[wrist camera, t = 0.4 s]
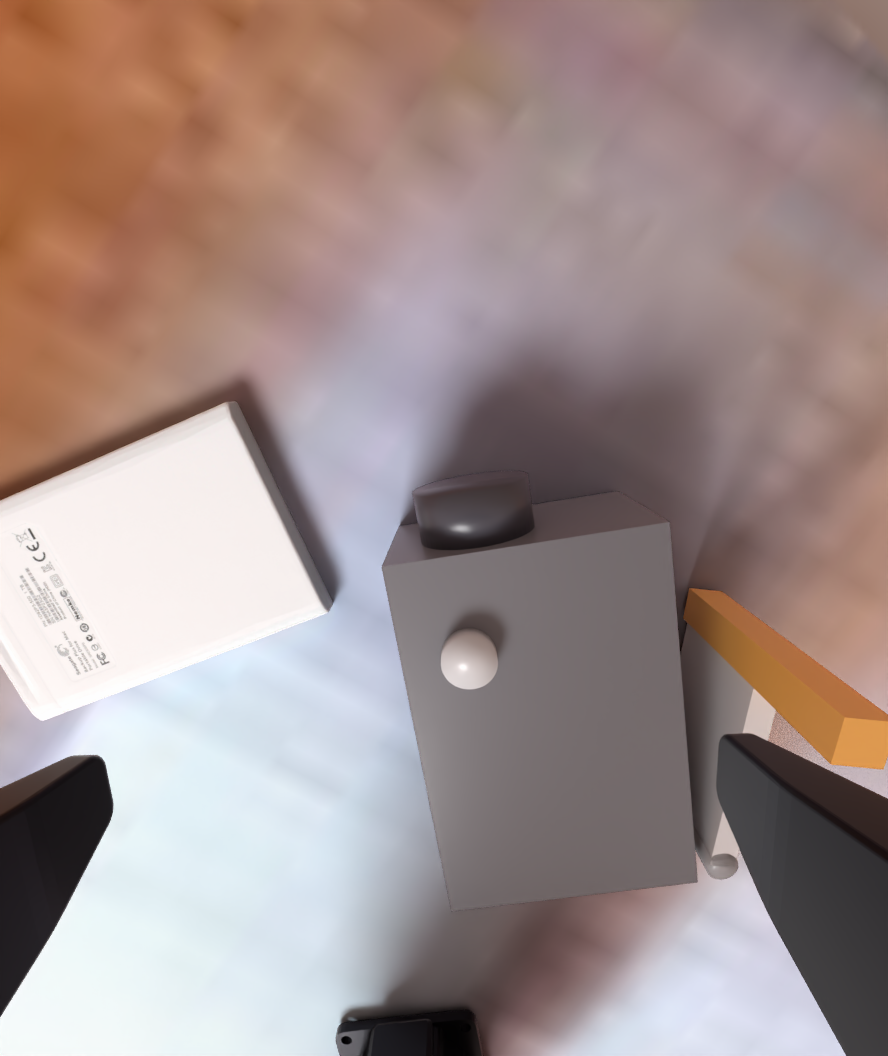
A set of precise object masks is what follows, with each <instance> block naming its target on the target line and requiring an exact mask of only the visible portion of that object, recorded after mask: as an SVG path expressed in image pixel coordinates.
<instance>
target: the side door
mask: <svg viewBox="0 0 888 1056" xmlns="http://www.w3.org/2000/svg"><path fill="white" fill-rule="evenodd" d="M683 619H684V620H685V621H686V622H687V628H686V632H685V637H684V642H683V646H682V651H681V656H680V661H681V674H682V687H683V700H684V712H685V725H686V738H687V751H688V764H689V777H690V790H691V803H692V816H693V829H694V842H695V850H696V852H697V854H698V856H699V857H700V859H701V861H702V863H703V865H704V867H705V869H706V871H707V873H708V874H709V875H710V876H711V877H713V878H715V879H727V878H729V877H731V876H733V875H734V874H735V873H736V871H737V869H738V862H737V857H738V853H739V847H738V844H737V842H736V840H735V837H734V835H733V833H732V831H731V828H730V826H729V824H728V821H727V819H726V817H725V814H724V812H723V810H722V808H721V805H720V803H719V800H718V796H717V790H716V777H717V762H718V746H719V741H720V738H721V737H722V736H723V735H724V734H738V733H751V734H754V735H757V736H759V737H761V738H763V739H765V740H767V741H768V738H769V735H770V731H771V727H772V723H773V719H774V716H775V712H776V711H777V712H778V713H779V714H780V715H781V716H782V717H783V718H784V719H785V720H786V721H787V722H788V723H789V724H790V725H791V726H792V727H793V728H794V729H796V730H797V731H798V732H799V733H800V734H801V735H802V736H803V737H804V738H805V739H806V740H807V741H808V742H809V743H810V744H811V745H812V746H813V747H814V748H815V749H816V750H817V751H818V752H819V753H820V754H821V755H822V756H823V757H824V758H825V759H826V760H827V761H828V762H829V763H830V764H832V765H842V766H852V767H863V768H873V769H884V766H885V763H886V760H887V757H888V714H886V713H885V712H884V711H882V710H881V709H879V708H878V707H877V706H875V705H874V704H873V703H871V702H870V701H869V700H867V699H866V698H865V697H863V696H862V695H861V694H859V693H858V692H857V691H855V690H854V689H853V688H851V687H850V686H849V685H847V684H846V683H844V682H843V681H842V680H840V679H839V678H838V677H836V676H835V675H834V674H832V673H831V672H830V671H828V670H827V669H826V668H824V667H823V666H822V665H820V664H819V663H818V662H816V661H815V660H814V659H812V658H811V657H809V656H808V655H807V654H805V653H804V652H803V651H801V650H800V649H799V648H797V647H796V646H795V645H793V644H792V643H791V642H789V641H788V640H787V639H785V638H784V637H783V636H781V635H780V634H779V633H777V632H776V631H774V630H773V629H772V628H770V627H769V626H768V625H766V624H765V623H764V622H762V621H761V620H760V619H758V618H757V617H756V616H754V615H753V614H752V613H750V612H749V611H748V610H746V609H745V608H744V607H742V606H741V605H739V604H738V603H737V602H735V601H734V600H733V599H731V598H730V597H729V596H727V595H726V594H725V593H723V592H722V591H714V590H703V589H693V588H689V592H688V597H687V602H686V607H685V611H684V616H683Z"/></svg>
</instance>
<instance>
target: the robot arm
mask: <svg viewBox="0 0 888 1056" xmlns="http://www.w3.org/2000/svg"><path fill="white" fill-rule="evenodd" d="M716 790H717V796H718V800H719V803H720V805H721V808H722V810H723V812H724V814H725V817H726V819H727V821H728V824H729V826H730V828H731V831H732V833H733V835H734V837H735V840H736V842H737V844H738V847H739V849H740V851H741V854H742V856H743V858H744V860H745V863H746V865H747V867H748V870H749V872H750V874H751V877H752V879H753V881H754V883H755V886H756V888H757V890H758V893H759V895H760V897H761V899H762V901H763V904H764V906H765V908H766V910H767V912H768V914H769V916H770V918H771V920H772V922H773V924H774V925H775V927H776V929H777V931H778V933H779V935H780V937H781V938H782V940H783V942H784V944H785V946H786V948H787V949H788V951H789V953H790V955H791V957H792V958H793V960H794V962H795V964H796V966H797V967H798V969H799V971H800V973H801V975H802V976H803V978H804V980H805V982H806V984H807V986H808V987H809V989H810V991H811V993H812V995H813V996H814V998H815V1000H816V1002H817V1004H818V1005H819V1007H820V1009H821V1011H822V1013H823V1014H824V1016H825V1018H826V1020H827V1022H828V1024H829V1025H830V1027H831V1029H832V1031H833V1033H834V1034H835V1036H836V1038H837V1040H838V1042H839V1043H840V1045H841V1047H842V1049H843V1051H844V1052H845V1054H846V1056H888V799H887V798H885V797H883V796H881V795H879V794H877V793H875V792H873V791H871V790H869V789H867V788H864V787H862V786H860V785H858V784H856V783H854V782H852V781H850V780H848V779H846V778H844V777H842V776H840V775H838V774H835V773H833V772H831V771H829V770H827V769H825V768H823V767H821V766H819V765H817V764H815V763H813V762H811V761H808V760H806V759H804V758H802V757H800V756H798V755H796V754H794V753H792V752H790V751H788V750H786V749H784V748H782V747H779V746H777V745H775V744H773V743H771V742H769V741H767V740H765V739H763V738H761V737H759V736H757V735H754V734H751V733H738V734H724V735H723V736H722V737H721V738H720V741H719V746H718V762H717V777H716ZM112 813H113V799H112V794H111V789H110V784H109V779H108V774H107V769H106V765H105V762H104V760H103V759H102V758H101V757H100V756H98V755H78V756H70V757H67V758H65V759H63V760H61V761H58V762H56V763H54V764H52V765H50V766H48V767H45V768H43V769H41V770H39V771H37V772H35V773H32V774H30V775H28V776H26V777H24V778H22V779H20V780H17V781H15V782H13V783H11V784H9V785H7V786H4V787H2V788H0V1017H1V1015H2V1014H3V1012H4V1010H5V1009H6V1007H7V1006H8V1004H9V1002H10V1001H11V999H12V998H13V996H14V994H15V993H16V991H17V990H18V988H19V986H20V985H21V983H22V982H23V980H24V978H25V977H26V975H27V973H28V972H29V970H30V969H31V967H32V965H33V964H34V962H35V961H36V959H37V957H38V956H39V954H40V953H41V951H42V949H43V948H44V946H45V944H46V943H47V941H48V939H49V938H50V936H51V934H52V932H53V931H54V929H55V927H56V925H57V923H58V922H59V920H60V918H61V916H62V914H63V912H64V911H65V909H66V907H67V905H68V903H69V901H70V899H71V897H72V895H73V893H74V891H75V889H76V887H77V885H78V883H79V881H80V879H81V877H82V875H83V874H84V872H85V870H86V868H87V866H88V864H89V862H90V860H91V858H92V856H93V854H94V852H95V850H96V848H97V846H98V844H99V842H100V840H101V838H102V836H103V835H104V833H105V831H106V829H107V827H108V825H109V823H110V820H111V817H112ZM336 1044H337V1048H338V1051H339V1055H340V1056H484V1055H483V1050H482V1045H481V1040H480V1035H479V1030H478V1025H477V1020H476V1016H475V1014H474V1013H473V1012H472V1011H469V1010H457V1011H448V1012H439V1013H429V1014H420V1015H411V1016H402V1017H392V1018H383V1019H374V1020H365V1021H355V1022H346V1023H342V1024H341V1025H339V1027H338V1029H337V1034H336Z"/></svg>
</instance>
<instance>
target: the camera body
mask: <svg viewBox="0 0 888 1056" xmlns="http://www.w3.org/2000/svg"><path fill="white" fill-rule="evenodd" d="M412 494H413V500H414V505H415V511H416V516H417V522H418V523H414V524H408V525H402V526H399V527H398V530H397V532H396V534H395V537H394V539H393V541H392V544H391V546H390V548H389V551H388V553H387V555H386V558H385V560H384V563H383V565H382V571H383V576H384V581H385V586H386V591H387V596H388V601H389V606H390V611H391V616H392V621H393V626H394V630H395V635H396V640H397V645H398V650H399V655H400V660H401V665H402V670H403V675H404V680H405V685H406V690H407V695H408V700H409V705H410V710H411V715H412V720H413V724H414V729H415V734H416V739H417V744H418V749H419V754H420V759H421V764H422V769H423V774H424V779H425V784H426V789H427V794H428V799H429V804H430V809H431V813H432V818H433V823H434V828H435V833H436V838H437V843H438V848H439V853H440V858H441V863H442V868H443V873H444V878H445V883H446V888H447V893H448V898H449V903H450V907H451V912H452V911H460V910H468V909H477V908H485V907H494V906H502V905H511V904H519V903H528V902H536V901H544V900H553V899H561V898H570V897H578V896H587V895H595V894H603V893H612V892H620V891H629V890H637V889H646V888H654V887H662V886H671V885H679V884H688V883H696V882H698V880H697V868H696V855H695V842H694V829H693V816H692V803H691V790H690V777H689V764H688V751H687V738H686V725H685V712H684V700H683V687H682V674H681V661H680V648H679V635H678V622H677V609H676V596H675V583H674V570H673V557H672V544H671V531H670V522H669V521H667V520H666V519H664V518H662V517H661V516H659V515H657V514H656V513H654V512H652V511H651V510H649V509H647V508H646V507H644V506H642V505H641V504H639V503H637V502H636V501H634V500H632V499H631V498H629V497H627V496H626V495H624V494H622V493H621V492H619V491H615V492H609V493H602V494H596V495H590V496H583V497H577V498H571V499H565V500H558V501H552V502H546V503H540V504H533V505H532V500H531V493H530V485H529V478H528V473H526V472H523V471H493V472H483V473H476V474H469V475H463V476H458V477H453V478H448V479H444V480H440V481H436V482H433V483H429V484H426V485H424V486H421V487H419V488H417V489H415V490H414V491H413V492H412Z"/></svg>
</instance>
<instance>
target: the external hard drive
mask: <svg viewBox="0 0 888 1056" xmlns="http://www.w3.org/2000/svg"><path fill="white" fill-rule="evenodd" d="M332 605H333V602H332V600H331V597H330V595H329V593H328V591H327V589H326V587H325V585H324V583H323V581H322V579H321V577H320V575H319V573H318V570H317V568H316V566H315V564H314V562H313V560H312V558H311V556H310V554H309V552H308V550H307V547H306V545H305V543H304V541H303V539H302V537H301V535H300V533H299V531H298V529H297V526H296V524H295V522H294V520H293V518H292V516H291V514H290V512H289V510H288V508H287V506H286V503H285V501H284V499H283V497H282V495H281V493H280V491H279V489H278V487H277V485H276V482H275V480H274V478H273V476H272V474H271V472H270V470H269V468H268V466H267V464H266V462H265V459H264V457H263V455H262V453H261V451H260V449H259V447H258V445H257V443H256V440H255V438H254V436H253V434H252V432H251V430H250V428H249V426H248V424H247V422H246V419H245V417H244V415H243V413H242V411H241V409H240V407H239V405H238V403H237V402H236V401H233V402H225V403H222V404H220V405H218V406H216V407H213V408H211V409H209V410H207V411H204V412H202V413H200V414H197V415H195V416H193V417H191V418H188V419H186V420H184V421H181V422H179V423H177V424H174V425H172V426H170V427H167V428H165V429H163V430H161V431H158V432H156V433H154V434H151V435H149V436H147V437H144V438H142V439H140V440H138V441H135V442H133V443H131V444H128V445H126V446H124V447H121V448H119V449H117V450H115V451H112V452H110V453H108V454H106V455H103V456H101V457H99V458H96V459H94V460H92V461H90V462H87V463H85V464H83V465H80V466H78V467H76V468H74V469H71V470H69V471H67V472H64V473H62V474H60V475H57V476H55V477H53V478H51V479H48V480H46V481H44V482H41V483H39V484H37V485H35V486H32V487H30V488H28V489H25V490H23V491H21V492H18V493H16V494H14V495H12V496H9V497H7V498H5V499H2V500H0V665H1V666H2V668H3V669H4V671H5V672H6V674H7V676H8V677H9V679H10V680H11V682H12V683H13V685H14V687H15V688H16V690H17V691H18V693H19V695H20V696H21V698H22V699H23V701H24V703H25V704H26V706H27V707H28V709H29V710H30V711H31V713H32V714H33V715H34V716H35V717H37V718H38V719H39V720H41V721H43V720H46V719H49V718H52V717H54V716H57V715H60V714H62V713H65V712H67V711H70V710H73V709H76V708H78V707H81V706H84V705H86V704H89V703H92V702H94V701H97V700H100V699H102V698H105V697H108V696H111V695H113V694H116V693H118V692H121V691H124V690H127V689H129V688H132V687H135V686H137V685H140V684H142V683H145V682H148V681H150V680H153V679H155V678H158V677H161V676H164V675H166V674H169V673H171V672H174V671H177V670H179V669H182V668H184V667H187V666H190V665H193V664H195V663H198V662H200V661H203V660H206V659H208V658H211V657H214V656H216V655H219V654H222V653H224V652H227V651H230V650H232V649H235V648H238V647H240V646H243V645H245V644H248V643H251V642H253V641H256V640H258V639H261V638H264V637H266V636H269V635H271V634H274V633H276V632H279V631H281V630H284V629H287V628H289V627H292V626H295V625H298V624H300V623H303V622H305V621H308V620H311V619H313V618H316V617H318V616H321V615H323V614H326V613H328V612H329V611H330V608H331V607H332Z"/></svg>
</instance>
